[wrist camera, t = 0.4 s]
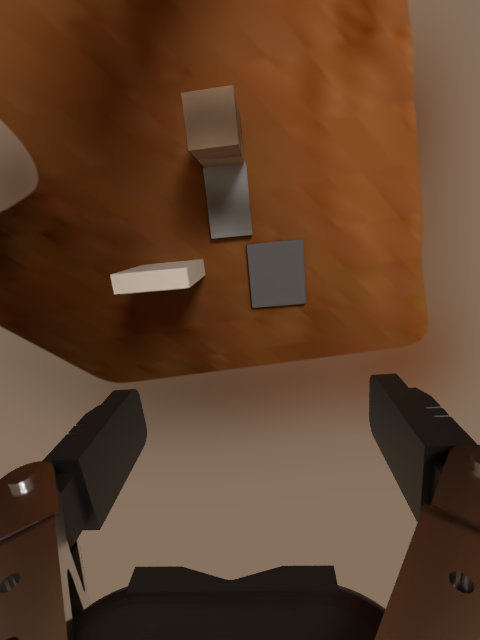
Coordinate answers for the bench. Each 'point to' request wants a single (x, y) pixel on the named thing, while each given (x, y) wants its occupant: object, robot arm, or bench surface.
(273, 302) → the mat
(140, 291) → the slab tile
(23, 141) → the bench surface
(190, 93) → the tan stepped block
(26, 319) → the bench surface
